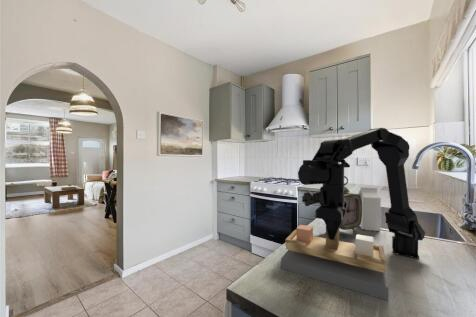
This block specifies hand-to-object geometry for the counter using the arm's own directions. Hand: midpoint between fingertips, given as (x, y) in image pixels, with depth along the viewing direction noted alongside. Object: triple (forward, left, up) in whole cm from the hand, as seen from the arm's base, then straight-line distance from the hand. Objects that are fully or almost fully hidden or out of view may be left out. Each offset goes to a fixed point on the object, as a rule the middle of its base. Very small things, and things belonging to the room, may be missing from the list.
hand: (332, 236), depth 62 cm
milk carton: (-9, -49, -10) cm, 51 cm away
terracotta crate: (+8, 0, -3) cm, 8 cm away
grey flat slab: (0, 0, -10) cm, 10 cm away
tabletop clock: (+1, -34, -10) cm, 35 cm away
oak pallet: (0, 0, -5) cm, 5 cm away
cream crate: (-8, 0, -3) cm, 8 cm away
